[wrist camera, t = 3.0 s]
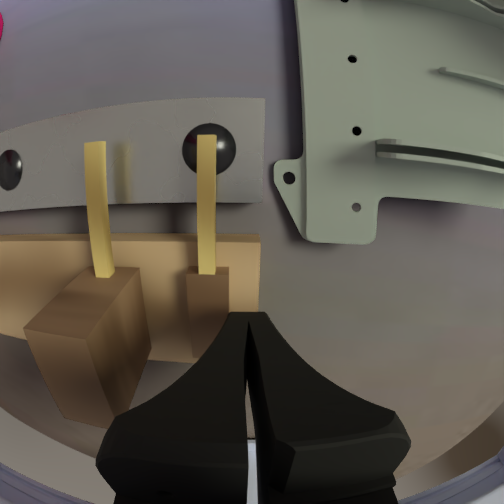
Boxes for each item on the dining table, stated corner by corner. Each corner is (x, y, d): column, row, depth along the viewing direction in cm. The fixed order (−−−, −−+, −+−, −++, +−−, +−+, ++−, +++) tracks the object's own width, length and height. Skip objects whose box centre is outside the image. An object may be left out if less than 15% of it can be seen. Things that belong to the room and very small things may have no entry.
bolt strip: (260, 199, 12) (261, 203, 11) (-18, 210, 11) (-30, 215, 10) (263, 103, 11) (265, 98, 10) (-22, 143, 10) (-34, 144, 9)
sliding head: (151, 348, 13) (120, 431, 8) (105, 343, 12) (63, 417, 8) (132, 139, 10) (56, 136, 5) (78, 145, 9) (-10, 152, 5)
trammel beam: (254, 349, 14) (256, 375, 13) (9, 323, 14) (-7, 339, 12) (262, 138, 11) (266, 135, 9) (-22, 168, 11) (-45, 173, 9)
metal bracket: (536, -24, 2) (564, 268, 7) (495, 8, 8) (511, 233, 13) (251, -80, 6) (266, 253, 11) (276, -24, 11) (288, 218, 16)
